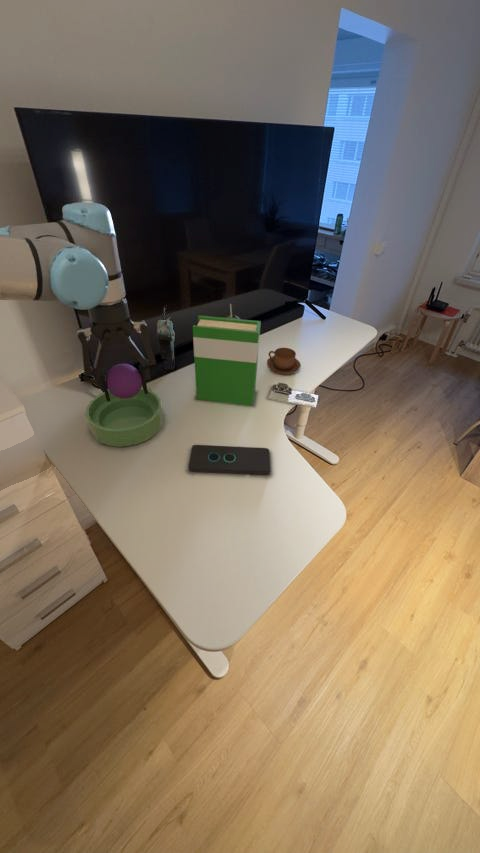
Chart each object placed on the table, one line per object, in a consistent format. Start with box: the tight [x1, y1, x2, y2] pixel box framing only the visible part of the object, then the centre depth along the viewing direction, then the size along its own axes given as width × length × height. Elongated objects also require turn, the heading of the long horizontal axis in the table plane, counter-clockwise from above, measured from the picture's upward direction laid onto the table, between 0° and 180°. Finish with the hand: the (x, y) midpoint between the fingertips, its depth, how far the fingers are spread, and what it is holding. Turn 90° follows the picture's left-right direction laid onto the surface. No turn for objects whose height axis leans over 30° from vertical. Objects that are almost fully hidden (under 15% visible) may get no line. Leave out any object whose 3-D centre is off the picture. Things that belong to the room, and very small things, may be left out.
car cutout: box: [268, 382, 319, 409], centre depth 108 cm, size 15×7×4 cm, turn 74°
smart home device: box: [188, 444, 271, 476], centre depth 87 cm, size 8×2×20 cm
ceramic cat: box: [156, 306, 175, 371], centre depth 118 cm, size 20×6×20 cm, turn 3°
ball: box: [105, 363, 143, 399], centre depth 79 cm, size 8×8×8 cm
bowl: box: [85, 387, 165, 448], centre depth 95 cm, size 20×20×6 cm
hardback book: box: [192, 315, 262, 407], centre depth 101 cm, size 18×7×24 cm, turn 83°
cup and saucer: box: [266, 347, 302, 375], centre depth 121 cm, size 12×12×6 cm
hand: (127, 394), depth 81 cm, fingers closed on ball, 8 cm apart
